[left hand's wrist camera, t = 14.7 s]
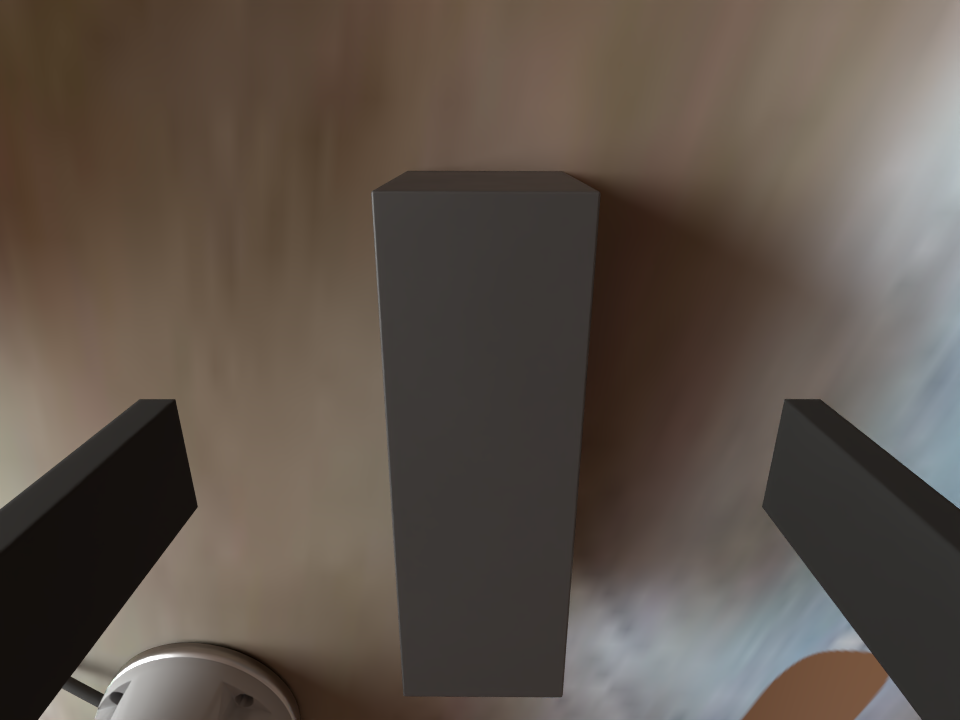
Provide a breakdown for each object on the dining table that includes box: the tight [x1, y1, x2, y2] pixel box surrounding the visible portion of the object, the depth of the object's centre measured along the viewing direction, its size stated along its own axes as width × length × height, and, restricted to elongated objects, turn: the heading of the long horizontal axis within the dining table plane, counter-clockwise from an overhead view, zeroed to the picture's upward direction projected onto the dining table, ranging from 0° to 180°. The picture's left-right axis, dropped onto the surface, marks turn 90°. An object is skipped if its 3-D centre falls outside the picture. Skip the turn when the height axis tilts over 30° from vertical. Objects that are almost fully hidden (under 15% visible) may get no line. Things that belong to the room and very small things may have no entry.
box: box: [371, 171, 600, 697], centre depth 32 cm, size 27×9×11 cm, turn 0°
